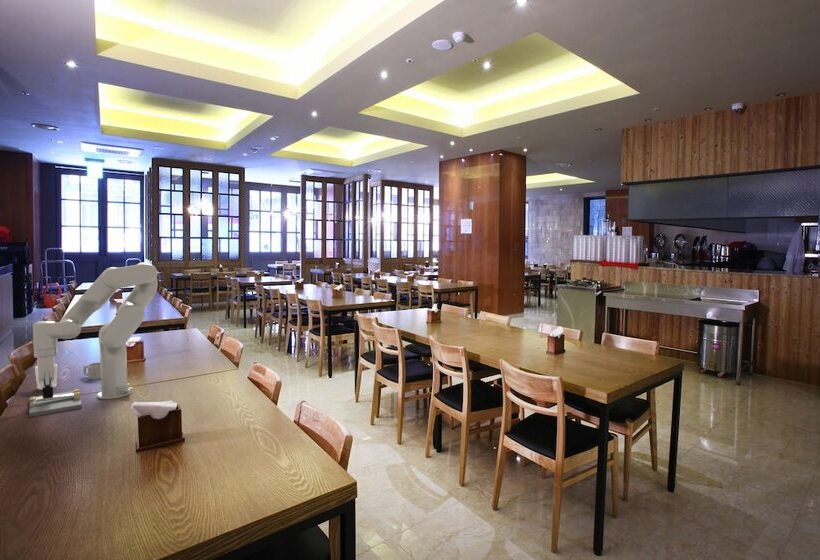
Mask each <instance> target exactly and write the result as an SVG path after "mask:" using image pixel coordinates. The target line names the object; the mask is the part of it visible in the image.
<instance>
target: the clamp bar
mask: <svg viewBox="0 0 820 560" xmlns="http://www.w3.org/2000/svg"><path fill="white" fill-rule="evenodd" d="M35 397H36V402H40V401H49V400H57V399H65V398H74V393H71V394H62V395H54V396H53V397H48V398H43V397H37V396H35Z"/></svg>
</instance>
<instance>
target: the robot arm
mask: <svg viewBox="0 0 820 560" xmlns="http://www.w3.org/2000/svg"><path fill="white" fill-rule="evenodd" d="M158 284H159V283H158V270H157V268H156V266H155V265H153V264H152V263H148V262H139V263H137V264H134V265H133V264H132V265H129V266H121V267H115V266H111V267H107V268H106V269H105V270H103V272H102V273H101V274H100V275H99V276H98V277H97V278H96V279H95V281H94V282H93V283H92V284H91V285H89V288H88V289H86V291H85V292H84V293H83V294H82V295H81V297H80V298H78V300H77V301H76V303H74V305H73V306H72V307H71V308H70V309H69V310H68V311H67V312H66V313H65V315H64V316H63V317H62V318H61V319H60V321H53V320H42V321H41V320H40V321H36V322H34V323H33V325H32V338H33V339H32V340H33V356H34V357H33V358H35V359H36V358H37V362H36V363H37V364H36V366H38V382H39V383H40V382H42V381H43V390H42V396H43V398H48V397H53V394H54V388H53V386H52V381H53V380H54V374H55V364H56V361H55V359H56V356H58V355H59V344H58V343H59V341H58V339H62V340H65V339H66V340H67V339H68V340H69V339H71V340H72V339H74V338H77V337H78V336H79V335H80V333H81V331H82V328H81V327H83V325H84V324H85V322H87V320H88V319H89V318H90V317H91V316H92V315H93V314H94V313H95V312H96V311H98V310H100V309H102V307H104V306H105V305H106V304H107V303H108V302H109V300H110V299H111V297H112V296H113V295H114V294H115V293H116V292H117V290H118V289H121V288H122V289H123V288H129V287H134V288H133V289H132V290H131V292H130V293H129V295H128V296H127V297H126V298H125V299H124V301H123V302H122V303H121V304H120V305H119V307H118V308H117V310H116V315H115V316H114V318H113V319H112V320H111V321H110V322H108V323H105V324H104V325H102V327H100V329H99V332H98V344H99V360H100V362H99V363H100V367H101V379H100V388H101V391H99V392H98V393H97V394H96V395H97V396H96V397H97V399H100V400H112V399H113V400H114V399H120V398H123V397H127V396H129V395H131V394H132V393H133V391H134V389H135V388H134V387H132V386H130V383H128V365H127V364H128V363H127V360H128V359H127V357H128V356H127V355H128V354H127V353H128V352H127V342H128V341H129V340H130V339H131V337H132V336H133V334H134V333H135V332H136V331H137V329H138V328H139V326H140V325H141V324H142V322H143V320H144V319H145V310H146V308H147V307H148V306H149V305H150V303H151V302H152V300H153V299H154V297H155V295H156V293H157V290H158V286H159V285H158Z"/></svg>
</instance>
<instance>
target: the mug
mask: <svg viewBox="0 0 820 560" xmlns="http://www.w3.org/2000/svg"><path fill="white" fill-rule="evenodd" d="M83 375H84V376H87V377H88V380H101V367H100V362H93V363H89V364H88V365H84V366H83Z"/></svg>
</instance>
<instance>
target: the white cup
mask: <svg viewBox="0 0 820 560" xmlns="http://www.w3.org/2000/svg"><path fill="white" fill-rule="evenodd" d="M34 371H35V373H34V374H35V381H36V386H37V388H36V389H37V390H40V391H41V390H42V391H43V381H42V382H40V383H39V382H38V366H37V365H36V366H34ZM57 380H58V364H57V363H55V374H54V380H53V381H52V386H53V389H54V388H56V387H57Z"/></svg>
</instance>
